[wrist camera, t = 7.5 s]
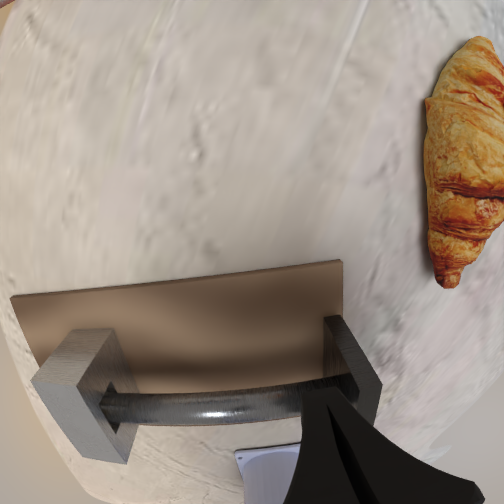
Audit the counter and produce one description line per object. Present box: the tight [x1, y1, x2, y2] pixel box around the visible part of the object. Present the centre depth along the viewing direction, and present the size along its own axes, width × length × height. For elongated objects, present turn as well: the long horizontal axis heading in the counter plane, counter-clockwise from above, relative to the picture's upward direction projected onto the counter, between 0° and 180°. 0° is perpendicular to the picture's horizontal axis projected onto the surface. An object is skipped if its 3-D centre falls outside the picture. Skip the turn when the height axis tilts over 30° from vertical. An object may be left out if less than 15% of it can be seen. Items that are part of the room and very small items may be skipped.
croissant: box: [424, 36, 504, 289], centre depth 15 cm, size 21×10×8 cm, turn 168°
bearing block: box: [30, 328, 140, 465], centre depth 18 cm, size 8×4×7 cm, turn 7°
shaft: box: [98, 314, 383, 426], centre depth 17 cm, size 7×17×7 cm, turn 97°
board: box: [10, 259, 343, 426], centre depth 21 cm, size 14×27×1 cm, turn 97°
